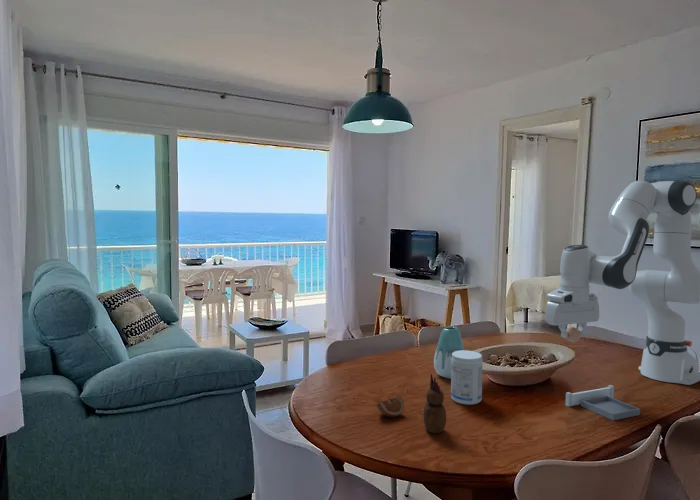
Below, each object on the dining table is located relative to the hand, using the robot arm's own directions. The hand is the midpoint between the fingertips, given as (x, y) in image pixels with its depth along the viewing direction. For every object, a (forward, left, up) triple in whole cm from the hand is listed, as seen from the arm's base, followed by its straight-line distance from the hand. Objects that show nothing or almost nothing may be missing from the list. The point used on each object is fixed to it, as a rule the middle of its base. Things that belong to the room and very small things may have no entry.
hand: (572, 336), depth 152 cm
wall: (0, +8, -19) cm, 21 cm away
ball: (0, 0, -2) cm, 2 cm away
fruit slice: (+64, -5, -19) cm, 67 cm away
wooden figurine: (+57, +8, -19) cm, 61 cm away
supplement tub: (+36, -7, -19) cm, 42 cm away
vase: (+28, -28, -19) cm, 44 cm away
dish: (0, +15, -19) cm, 24 cm away
